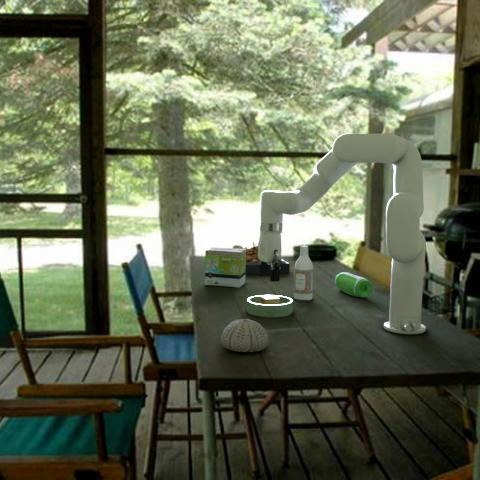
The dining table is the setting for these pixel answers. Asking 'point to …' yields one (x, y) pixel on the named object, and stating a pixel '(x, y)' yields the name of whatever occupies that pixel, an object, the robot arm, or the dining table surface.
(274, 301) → the maple cube
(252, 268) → the food platter
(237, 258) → the tea box
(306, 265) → the bath foam
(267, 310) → the bowl
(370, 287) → the speaker
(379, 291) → the dining table surface
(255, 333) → the sea urchin shell
